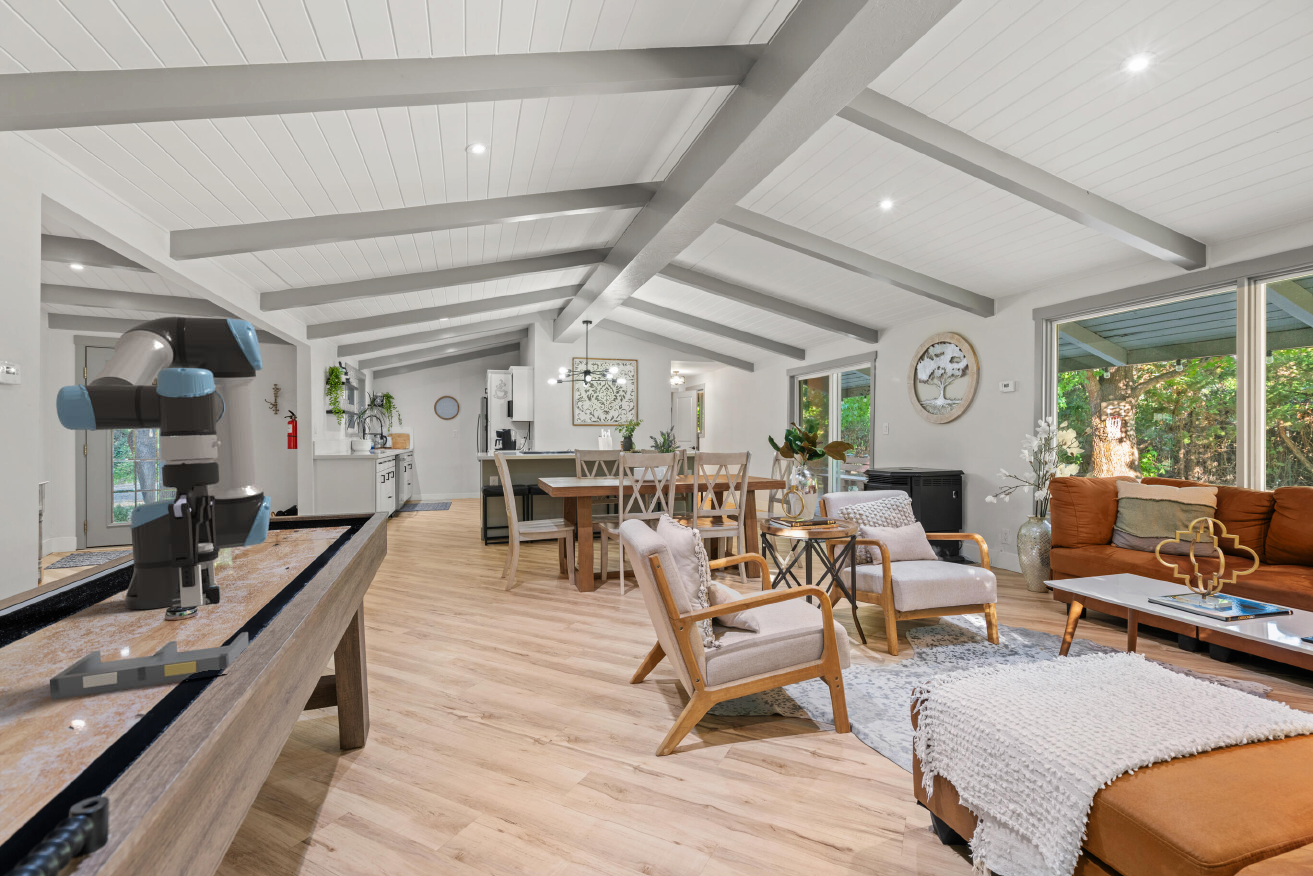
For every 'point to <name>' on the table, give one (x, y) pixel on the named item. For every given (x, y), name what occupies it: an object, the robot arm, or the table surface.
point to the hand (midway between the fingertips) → (198, 601)
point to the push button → (208, 590)
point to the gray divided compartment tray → (141, 669)
